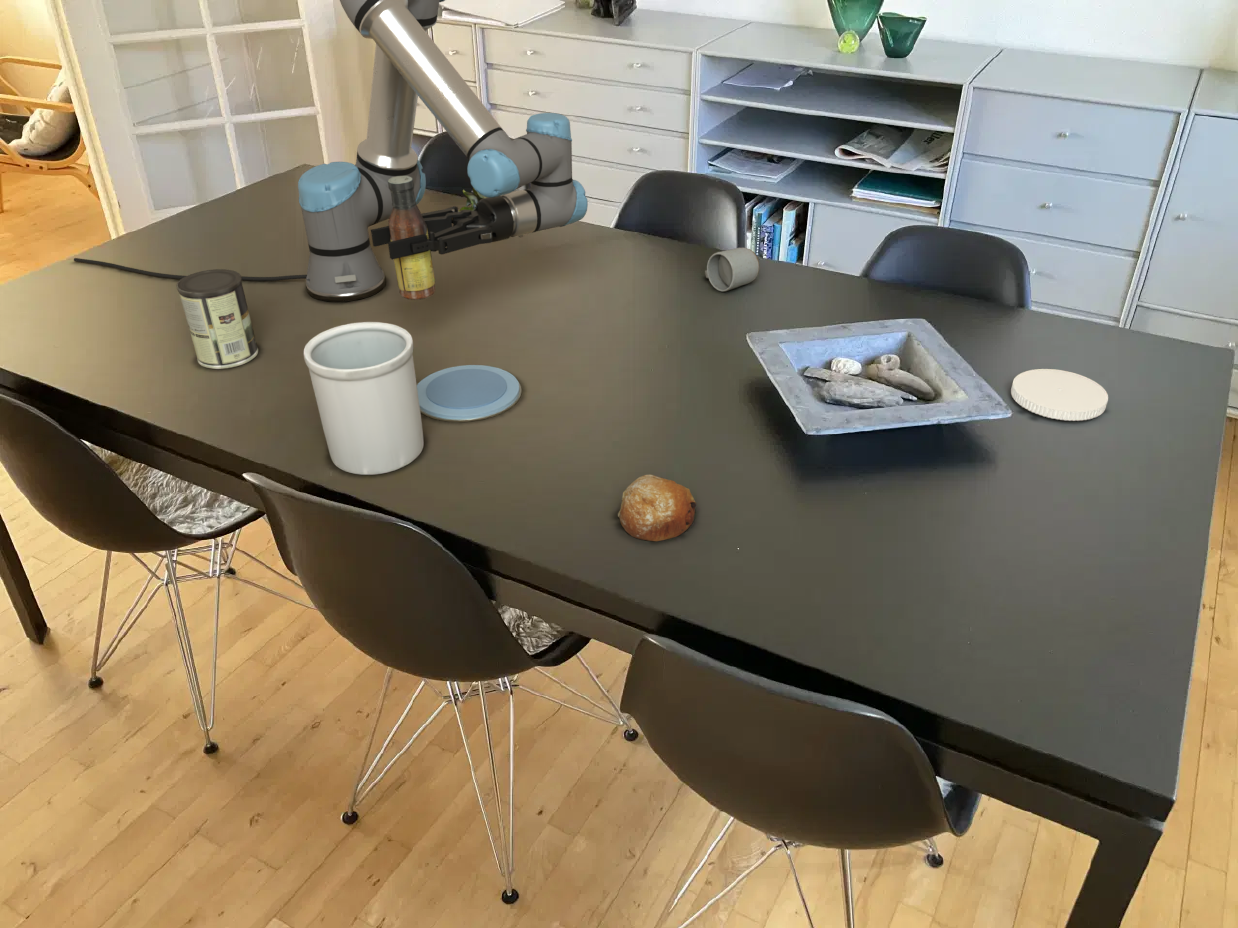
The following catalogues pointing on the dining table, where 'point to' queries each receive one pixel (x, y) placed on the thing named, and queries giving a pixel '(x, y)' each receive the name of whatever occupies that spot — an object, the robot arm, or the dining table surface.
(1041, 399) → the plastic lid
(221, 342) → the coffee can
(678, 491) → the bread roll
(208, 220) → the dining table surface
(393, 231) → the sauce bottle
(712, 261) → the ceramic mug
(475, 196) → the passion flower
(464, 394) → the blue plate
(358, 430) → the utensil holder
